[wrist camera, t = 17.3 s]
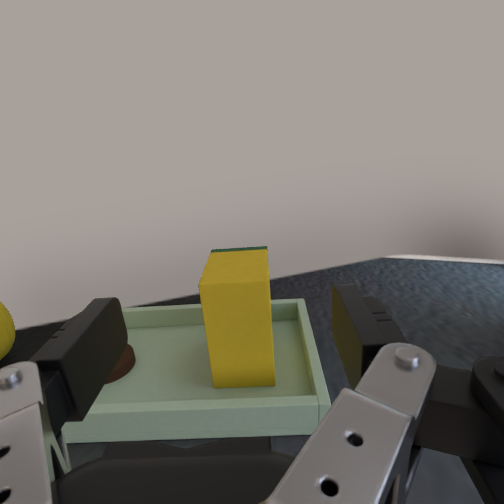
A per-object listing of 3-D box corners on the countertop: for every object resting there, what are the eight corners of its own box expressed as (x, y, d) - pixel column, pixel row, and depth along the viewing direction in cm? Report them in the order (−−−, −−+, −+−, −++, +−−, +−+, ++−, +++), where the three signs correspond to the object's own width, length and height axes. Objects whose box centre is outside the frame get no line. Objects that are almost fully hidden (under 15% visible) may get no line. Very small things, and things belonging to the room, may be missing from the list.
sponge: (272, 334, 31) (267, 245, 28) (275, 386, 25) (269, 280, 22) (222, 337, 31) (211, 249, 28) (213, 389, 25) (198, 284, 22)
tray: (304, 320, 34) (303, 298, 33) (330, 434, 22) (331, 403, 21) (102, 330, 35) (96, 309, 34) (13, 445, 23) (0, 416, 22)
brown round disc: (142, 349, 31) (139, 340, 30) (126, 383, 27) (123, 373, 26) (95, 352, 31) (92, 343, 30) (72, 387, 27) (68, 377, 26)
